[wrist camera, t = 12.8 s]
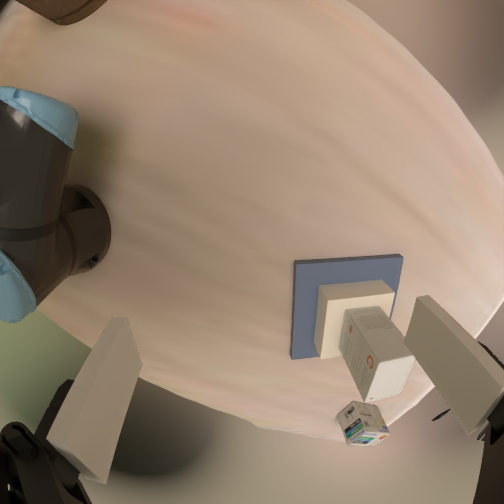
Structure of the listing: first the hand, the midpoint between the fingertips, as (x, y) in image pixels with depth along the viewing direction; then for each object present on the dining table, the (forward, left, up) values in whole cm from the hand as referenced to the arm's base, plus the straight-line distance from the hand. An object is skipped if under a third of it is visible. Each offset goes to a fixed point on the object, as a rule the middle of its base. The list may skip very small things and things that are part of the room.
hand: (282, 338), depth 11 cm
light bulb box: (+27, -55, -32) cm, 69 cm away
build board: (+17, -20, -32) cm, 41 cm away
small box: (+17, -20, -25) cm, 36 cm away
